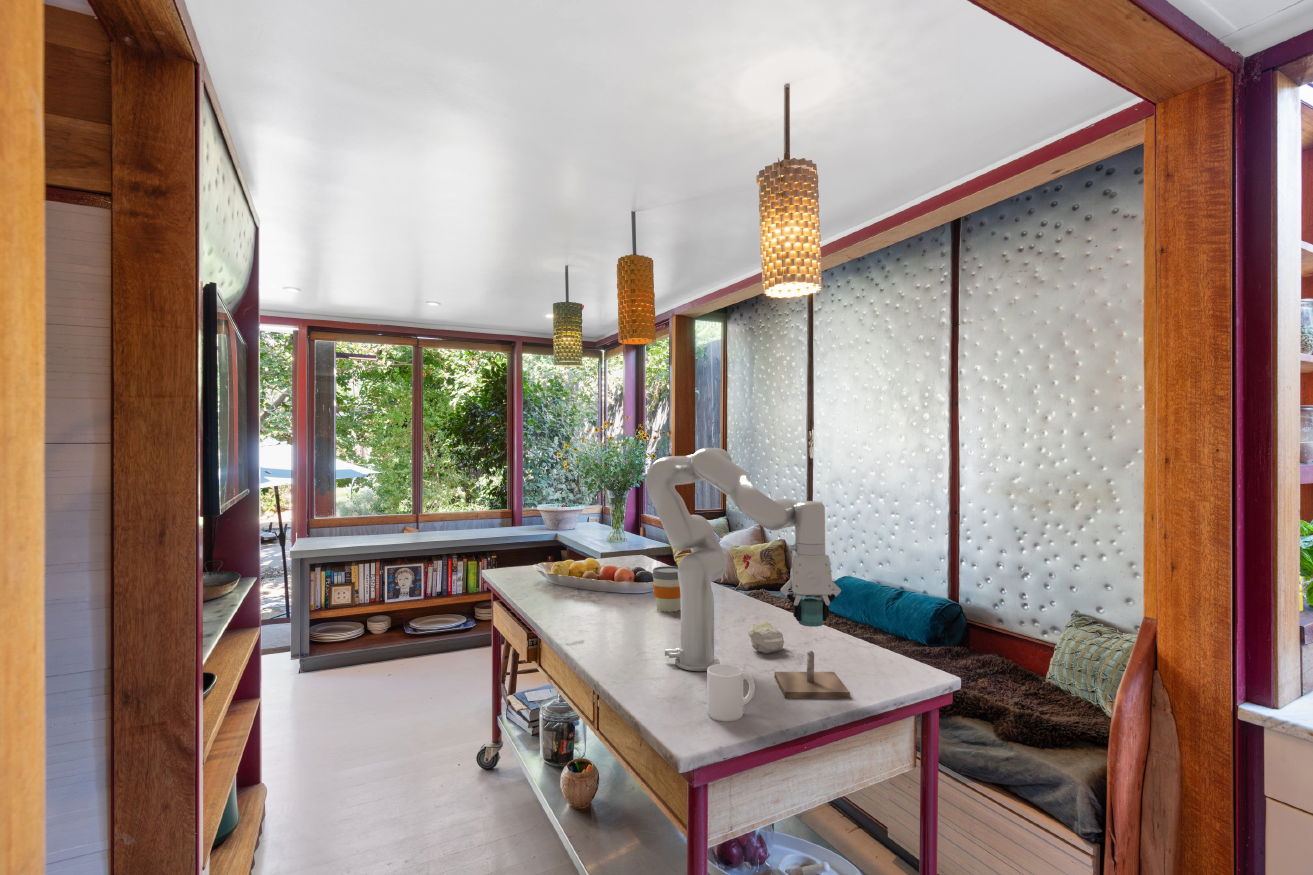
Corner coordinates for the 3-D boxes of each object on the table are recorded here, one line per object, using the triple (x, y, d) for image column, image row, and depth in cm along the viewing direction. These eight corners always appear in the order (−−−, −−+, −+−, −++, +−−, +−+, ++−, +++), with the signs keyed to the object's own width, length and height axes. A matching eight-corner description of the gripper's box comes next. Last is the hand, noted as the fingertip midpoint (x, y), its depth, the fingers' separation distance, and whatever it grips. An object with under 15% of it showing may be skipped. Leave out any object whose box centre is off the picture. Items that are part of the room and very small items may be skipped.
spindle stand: (784, 697, 156) (784, 659, 156) (774, 677, 170) (774, 641, 170) (849, 698, 156) (849, 659, 156) (834, 677, 170) (834, 642, 170)
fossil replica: (790, 649, 194) (760, 646, 199) (789, 621, 195) (758, 619, 200) (776, 657, 184) (744, 654, 189) (775, 627, 185) (743, 625, 190)
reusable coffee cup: (691, 607, 243) (691, 568, 243) (674, 614, 232) (674, 573, 233) (663, 603, 250) (663, 564, 250) (645, 610, 239) (645, 570, 239)
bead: (801, 626, 160) (801, 602, 160) (796, 620, 166) (796, 597, 166) (825, 626, 160) (825, 602, 160) (819, 620, 166) (819, 597, 166)
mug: (745, 702, 153) (745, 659, 153) (764, 716, 146) (764, 671, 146) (701, 710, 149) (701, 666, 149) (717, 724, 141) (717, 678, 141)
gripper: (779, 552, 160) (780, 623, 159) (848, 551, 160) (848, 623, 159) (774, 547, 167) (774, 616, 167) (839, 547, 167) (840, 615, 167)
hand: (810, 619), depth 163 cm, fingers closed on bead, 6 cm apart
